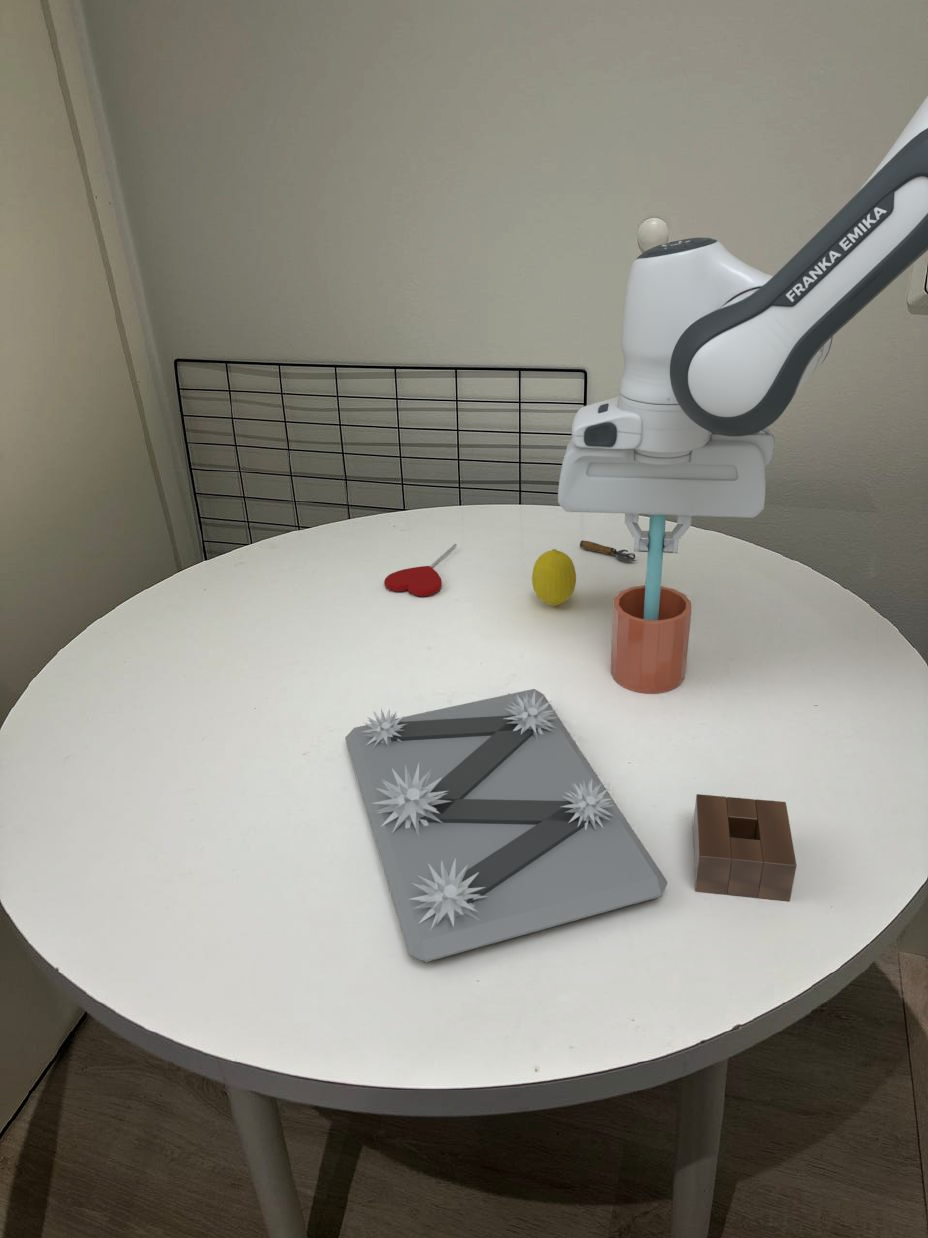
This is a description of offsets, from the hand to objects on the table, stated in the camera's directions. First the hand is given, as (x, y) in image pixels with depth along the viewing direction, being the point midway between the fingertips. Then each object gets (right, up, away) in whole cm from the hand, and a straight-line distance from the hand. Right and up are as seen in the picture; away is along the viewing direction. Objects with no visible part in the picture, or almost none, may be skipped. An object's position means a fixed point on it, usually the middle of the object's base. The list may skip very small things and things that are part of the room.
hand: (655, 550), depth 93 cm
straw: (0, -9, +5) cm, 10 cm away
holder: (+3, -28, -17) cm, 33 cm away
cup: (+1, -13, +8) cm, 15 cm away
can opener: (0, +2, +33) cm, 33 cm away
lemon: (-8, -6, +22) cm, 24 cm away
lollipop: (-24, 0, +32) cm, 40 cm away
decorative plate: (-18, -25, -11) cm, 33 cm away
